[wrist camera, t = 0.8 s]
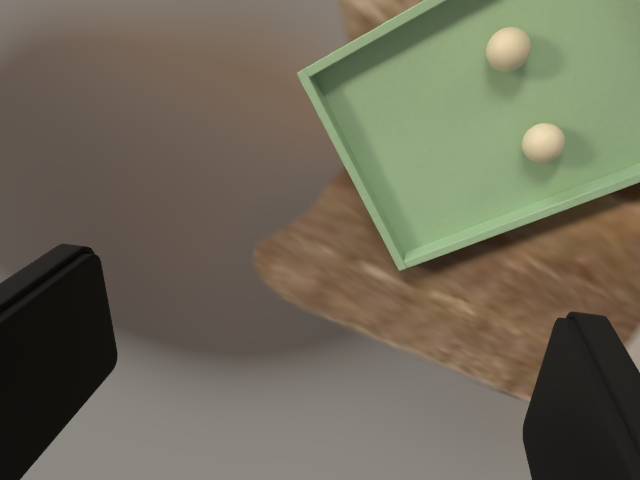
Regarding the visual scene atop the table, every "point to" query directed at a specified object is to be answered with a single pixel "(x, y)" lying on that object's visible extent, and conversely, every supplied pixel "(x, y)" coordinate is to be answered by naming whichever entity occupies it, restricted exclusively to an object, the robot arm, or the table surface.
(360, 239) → the table surface
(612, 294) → the table surface
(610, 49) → the tray
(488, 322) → the table surface
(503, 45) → the crumb
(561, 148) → the crumb
